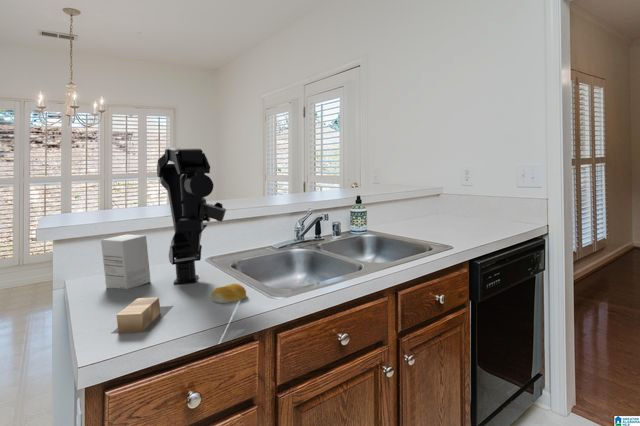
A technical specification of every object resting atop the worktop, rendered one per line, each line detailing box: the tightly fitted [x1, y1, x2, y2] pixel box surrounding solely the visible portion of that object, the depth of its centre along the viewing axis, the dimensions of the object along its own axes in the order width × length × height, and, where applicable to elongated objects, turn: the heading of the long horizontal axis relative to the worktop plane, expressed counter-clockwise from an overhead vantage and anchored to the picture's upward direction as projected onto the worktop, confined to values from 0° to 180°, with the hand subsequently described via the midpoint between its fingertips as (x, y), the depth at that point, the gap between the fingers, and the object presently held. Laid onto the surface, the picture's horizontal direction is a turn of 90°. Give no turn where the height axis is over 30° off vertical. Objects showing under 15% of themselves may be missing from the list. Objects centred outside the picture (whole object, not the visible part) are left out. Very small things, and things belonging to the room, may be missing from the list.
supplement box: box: [100, 233, 151, 290], centre depth 112 cm, size 9×9×15 cm
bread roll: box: [210, 283, 247, 304], centre depth 98 cm, size 8×9×4 cm
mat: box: [111, 305, 174, 334], centre depth 85 cm, size 14×8×1 cm, turn 3°
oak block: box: [116, 296, 161, 334], centre depth 83 cm, size 4×5×10 cm
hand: (196, 251), depth 101 cm, fingers closed
